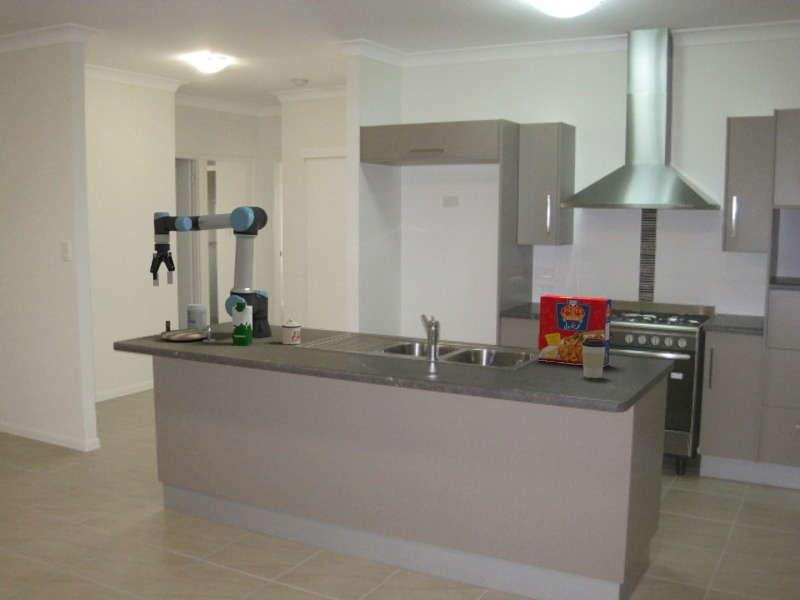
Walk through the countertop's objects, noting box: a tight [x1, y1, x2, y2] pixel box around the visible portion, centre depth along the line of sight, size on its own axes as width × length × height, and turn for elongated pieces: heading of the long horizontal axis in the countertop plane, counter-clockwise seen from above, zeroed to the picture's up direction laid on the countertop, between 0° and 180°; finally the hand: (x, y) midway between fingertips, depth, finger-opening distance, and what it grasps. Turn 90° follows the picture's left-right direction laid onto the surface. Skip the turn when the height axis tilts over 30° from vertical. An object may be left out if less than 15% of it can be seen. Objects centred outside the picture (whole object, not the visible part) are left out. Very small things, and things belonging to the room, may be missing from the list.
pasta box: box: [538, 294, 612, 366], centre depth 344 cm, size 28×8×28 cm, turn 60°
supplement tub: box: [186, 303, 208, 331], centre depth 418 cm, size 10×10×15 cm
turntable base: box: [169, 339, 200, 343], centre depth 397 cm, size 14×14×2 cm
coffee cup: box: [582, 339, 606, 378], centre depth 315 cm, size 9×9×15 cm
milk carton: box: [231, 302, 253, 347], centre depth 384 cm, size 9×9×20 cm
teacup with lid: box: [281, 318, 302, 345], centre depth 389 cm, size 12×9×12 cm
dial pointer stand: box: [202, 326, 216, 343], centre depth 391 cm, size 5×4×7 cm
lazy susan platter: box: [160, 320, 207, 340], centre depth 396 cm, size 22×22×7 cm
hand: (163, 285), depth 412 cm, fingers open, 13 cm apart
